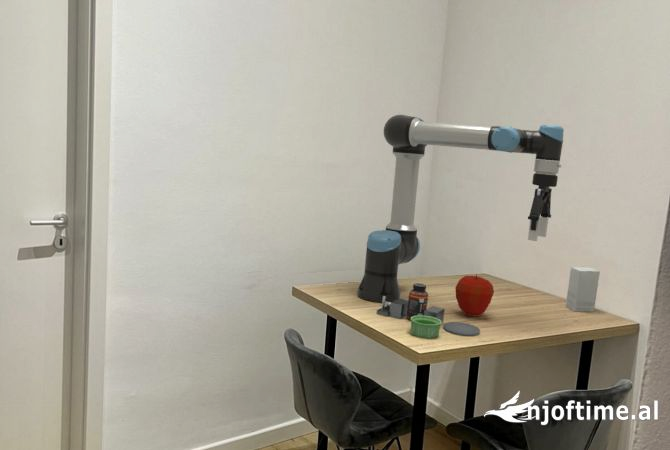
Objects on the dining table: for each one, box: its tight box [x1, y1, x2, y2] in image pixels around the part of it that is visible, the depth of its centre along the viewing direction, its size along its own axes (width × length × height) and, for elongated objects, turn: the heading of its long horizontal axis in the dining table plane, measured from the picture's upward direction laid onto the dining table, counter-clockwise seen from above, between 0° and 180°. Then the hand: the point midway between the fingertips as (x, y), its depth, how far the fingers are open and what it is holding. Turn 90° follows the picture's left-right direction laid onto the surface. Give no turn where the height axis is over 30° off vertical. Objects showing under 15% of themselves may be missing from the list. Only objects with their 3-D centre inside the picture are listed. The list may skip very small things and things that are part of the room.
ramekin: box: [410, 315, 442, 339], centre depth 173 cm, size 9×9×4 cm
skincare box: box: [565, 266, 601, 313], centre depth 217 cm, size 8×7×16 cm
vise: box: [376, 296, 446, 324], centre depth 188 cm, size 20×9×5 cm, turn 59°
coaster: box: [442, 321, 481, 337], centre depth 180 cm, size 11×11×1 cm
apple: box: [455, 274, 495, 317], centre depth 197 cm, size 12×12×14 cm
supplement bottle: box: [406, 282, 429, 321], centre depth 187 cm, size 6×6×11 cm
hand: (536, 238), depth 194 cm, fingers open, 13 cm apart
